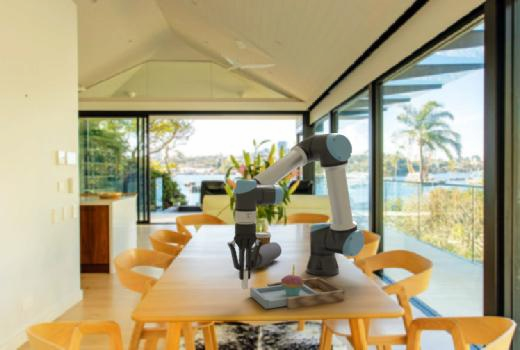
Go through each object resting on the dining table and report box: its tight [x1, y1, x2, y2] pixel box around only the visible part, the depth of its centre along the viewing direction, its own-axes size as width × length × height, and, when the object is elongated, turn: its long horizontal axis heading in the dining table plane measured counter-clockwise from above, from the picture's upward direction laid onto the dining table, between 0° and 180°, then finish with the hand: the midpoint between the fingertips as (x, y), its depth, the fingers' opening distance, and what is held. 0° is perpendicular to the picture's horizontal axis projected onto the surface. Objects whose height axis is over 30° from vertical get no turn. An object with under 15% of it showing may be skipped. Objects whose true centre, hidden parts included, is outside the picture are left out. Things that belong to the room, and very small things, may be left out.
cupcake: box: [280, 265, 304, 296], centre depth 146 cm, size 9×8×12 cm
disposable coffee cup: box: [256, 231, 272, 245], centre depth 219 cm, size 10×10×12 cm
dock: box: [266, 276, 345, 309], centre depth 148 cm, size 24×19×4 cm
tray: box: [249, 284, 319, 310], centre depth 145 cm, size 22×15×3 cm
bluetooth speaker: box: [251, 241, 282, 269], centre depth 195 cm, size 23×9×10 cm, turn 154°
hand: (244, 288), depth 139 cm, fingers closed
